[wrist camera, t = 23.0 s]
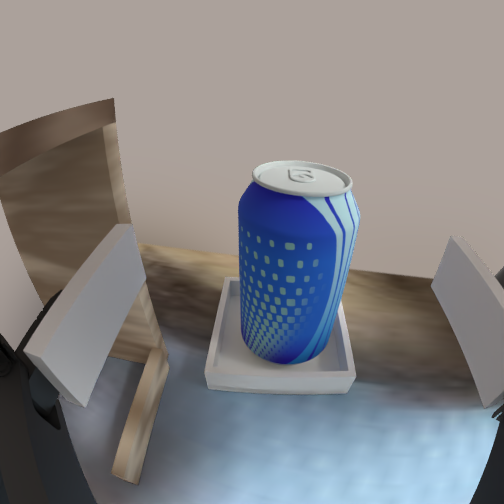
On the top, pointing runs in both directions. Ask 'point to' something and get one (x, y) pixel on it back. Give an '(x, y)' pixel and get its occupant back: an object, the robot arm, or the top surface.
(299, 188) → the beer can
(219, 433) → the top surface
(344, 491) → the top surface
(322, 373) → the tray
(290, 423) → the top surface
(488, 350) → the robot arm
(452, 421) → the top surface
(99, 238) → the dock
